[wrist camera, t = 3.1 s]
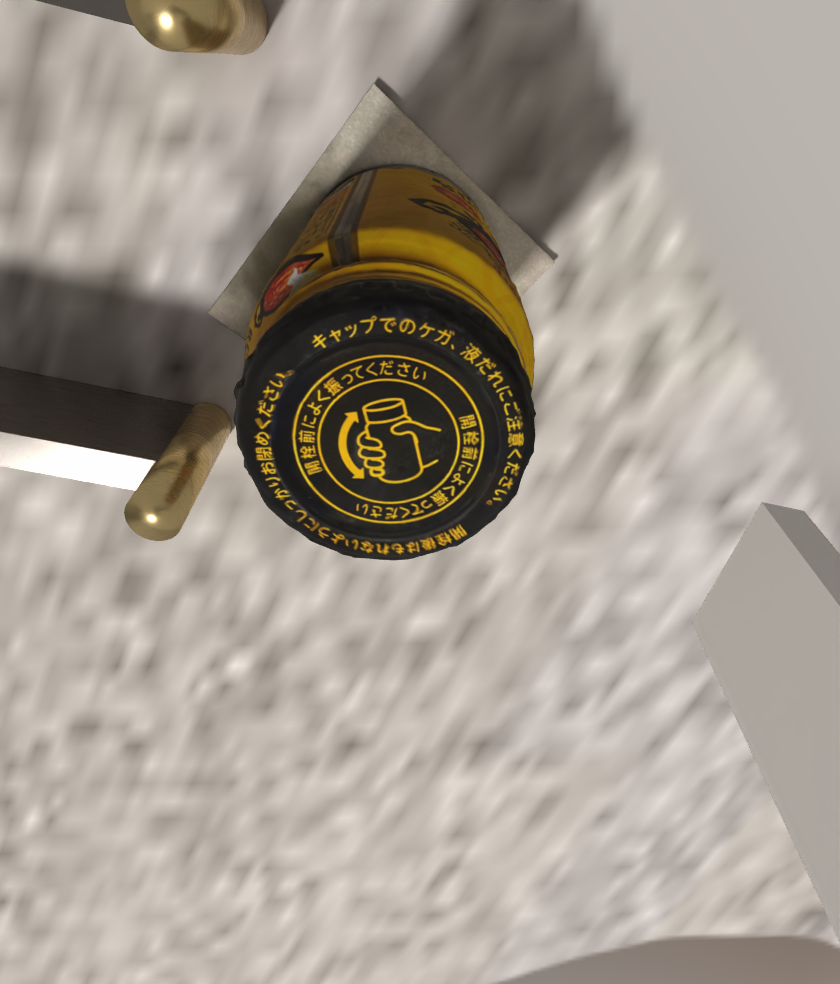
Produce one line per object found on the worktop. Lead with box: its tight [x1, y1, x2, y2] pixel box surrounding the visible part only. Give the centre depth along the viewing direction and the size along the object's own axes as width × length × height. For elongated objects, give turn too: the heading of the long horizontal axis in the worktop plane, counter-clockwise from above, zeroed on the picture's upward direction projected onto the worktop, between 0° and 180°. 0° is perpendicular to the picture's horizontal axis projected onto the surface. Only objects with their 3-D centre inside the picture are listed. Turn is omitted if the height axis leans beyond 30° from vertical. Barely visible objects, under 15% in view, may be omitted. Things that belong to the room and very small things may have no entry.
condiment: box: [208, 84, 555, 560], centre depth 17 cm, size 7×8×12 cm
